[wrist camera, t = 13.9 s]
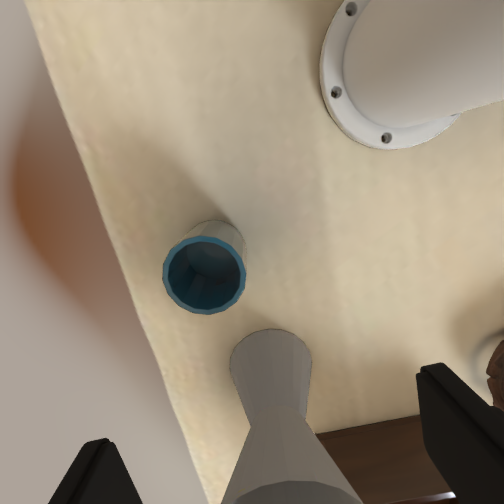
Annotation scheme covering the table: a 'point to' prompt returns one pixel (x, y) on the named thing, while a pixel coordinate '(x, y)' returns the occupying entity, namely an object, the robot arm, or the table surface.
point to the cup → (207, 268)
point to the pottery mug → (497, 376)
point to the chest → (388, 463)
